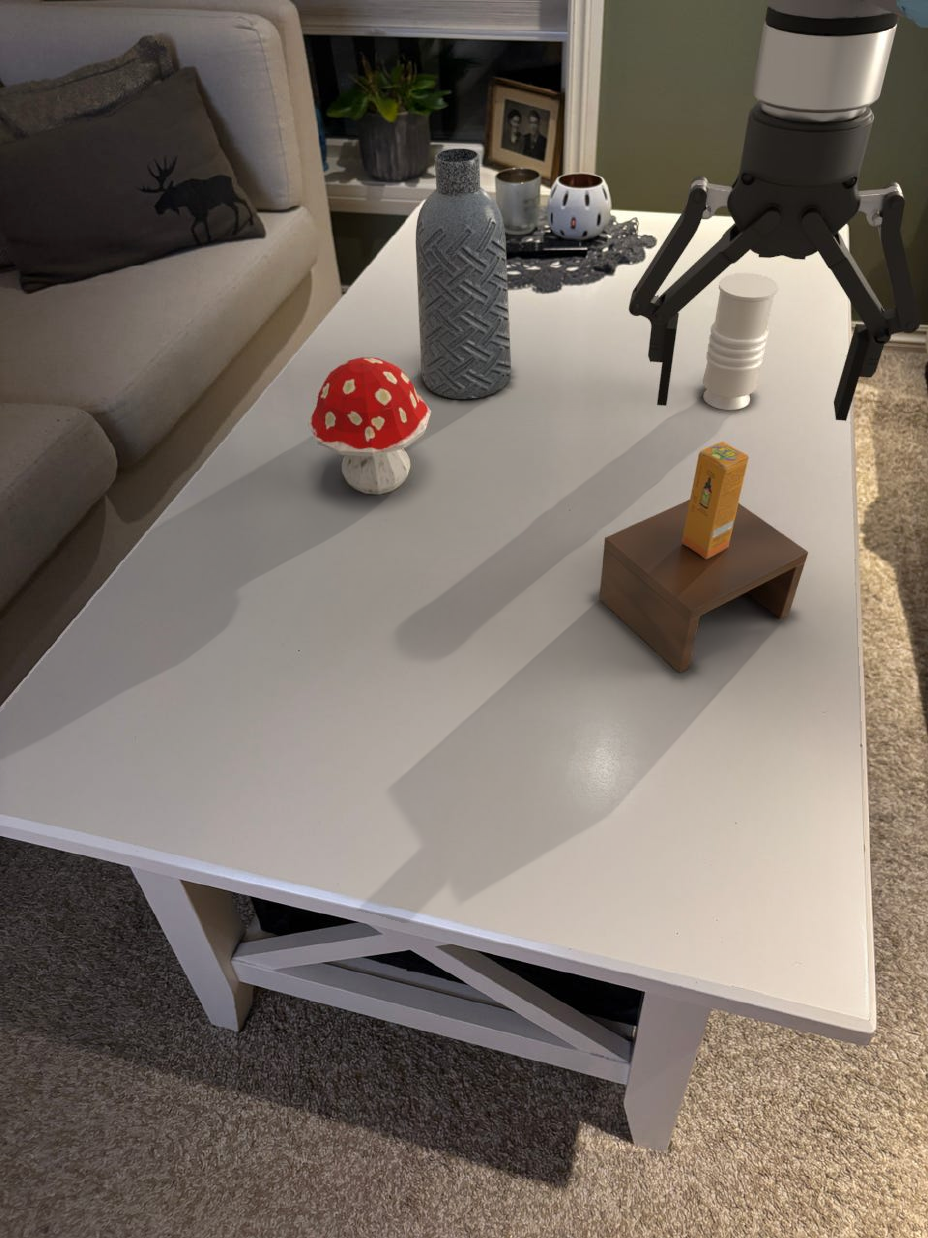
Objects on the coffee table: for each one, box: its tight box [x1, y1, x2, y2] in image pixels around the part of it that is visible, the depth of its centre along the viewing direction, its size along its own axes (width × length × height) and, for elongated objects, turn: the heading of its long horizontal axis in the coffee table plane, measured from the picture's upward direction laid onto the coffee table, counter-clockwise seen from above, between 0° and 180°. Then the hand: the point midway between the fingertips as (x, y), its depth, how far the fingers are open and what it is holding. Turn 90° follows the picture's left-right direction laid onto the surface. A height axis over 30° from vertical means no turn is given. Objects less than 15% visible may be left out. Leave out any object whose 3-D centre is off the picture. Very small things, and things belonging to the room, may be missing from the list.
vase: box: [415, 147, 512, 400], centre depth 110 cm, size 12×12×28 cm
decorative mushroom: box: [307, 356, 432, 495], centre depth 99 cm, size 14×14×15 cm
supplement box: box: [682, 441, 750, 559], centre depth 77 cm, size 3×3×10 cm
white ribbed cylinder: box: [702, 272, 779, 411], centre depth 108 cm, size 7×7×15 cm
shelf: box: [598, 499, 809, 674], centre depth 84 cm, size 12×14×8 cm
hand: (749, 404), depth 70 cm, fingers open, 13 cm apart
